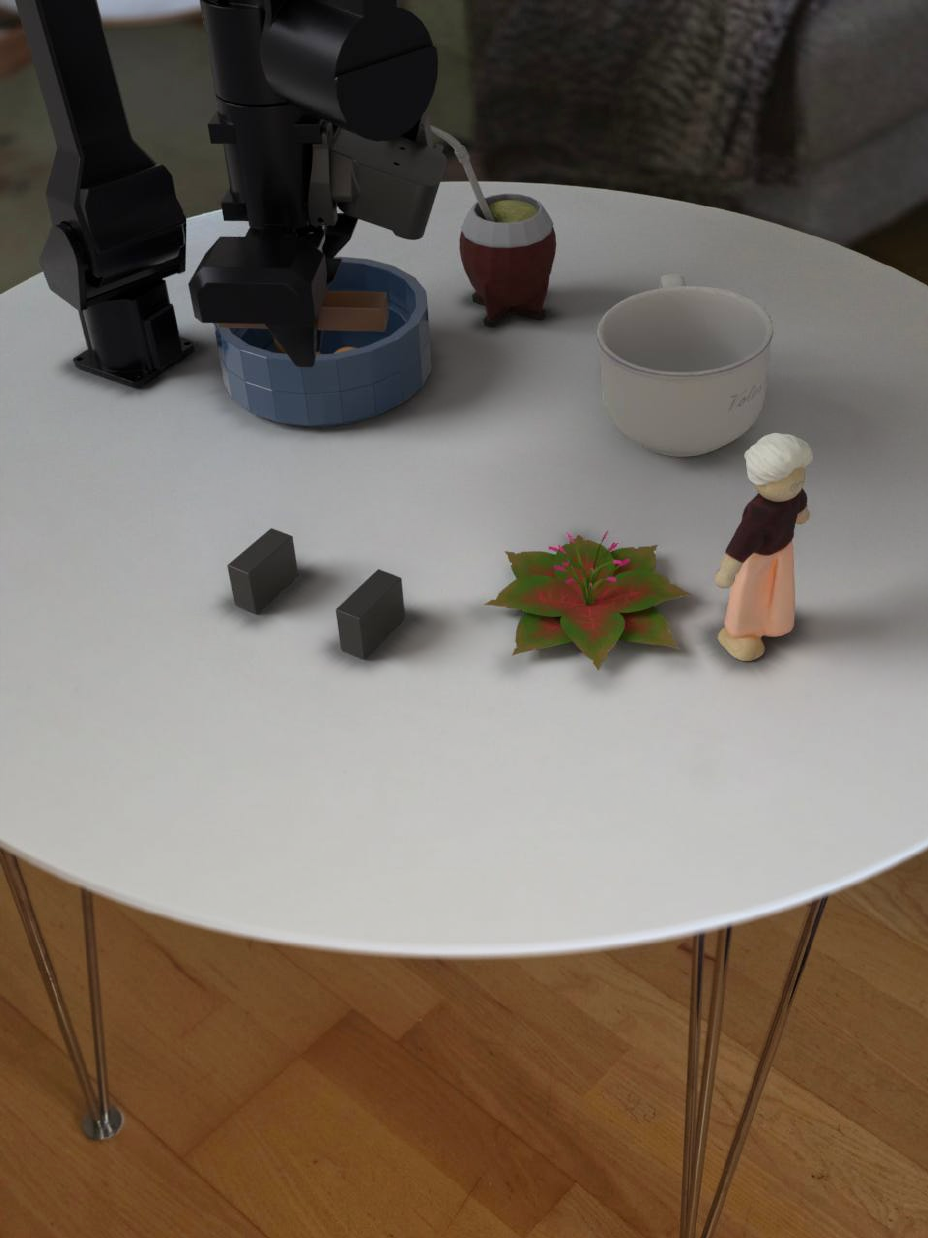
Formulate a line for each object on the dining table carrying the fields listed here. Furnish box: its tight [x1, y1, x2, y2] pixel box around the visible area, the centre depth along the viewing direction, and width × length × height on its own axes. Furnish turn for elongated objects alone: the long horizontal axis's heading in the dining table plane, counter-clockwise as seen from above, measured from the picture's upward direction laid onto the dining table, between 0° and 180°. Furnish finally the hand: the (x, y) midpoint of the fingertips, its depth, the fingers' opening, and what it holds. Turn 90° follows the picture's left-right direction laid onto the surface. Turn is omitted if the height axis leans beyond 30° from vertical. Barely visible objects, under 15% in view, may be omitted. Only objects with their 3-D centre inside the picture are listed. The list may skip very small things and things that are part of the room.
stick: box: [218, 291, 389, 332], centre depth 77 cm, size 10×2×2 cm, turn 83°
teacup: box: [596, 272, 774, 458], centre depth 89 cm, size 14×11×8 cm
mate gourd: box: [430, 124, 557, 328], centre depth 98 cm, size 8×8×15 cm
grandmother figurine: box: [714, 432, 814, 662], centre depth 71 cm, size 8×4×13 cm, turn 148°
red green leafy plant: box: [483, 530, 692, 672], centre depth 76 cm, size 12×12×5 cm
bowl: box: [213, 256, 433, 428], centre depth 95 cm, size 15×15×6 cm
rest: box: [226, 527, 406, 660], centre depth 77 cm, size 9×4×3 cm, turn 57°
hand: (308, 358), depth 79 cm, fingers closed on stick, 1 cm apart
